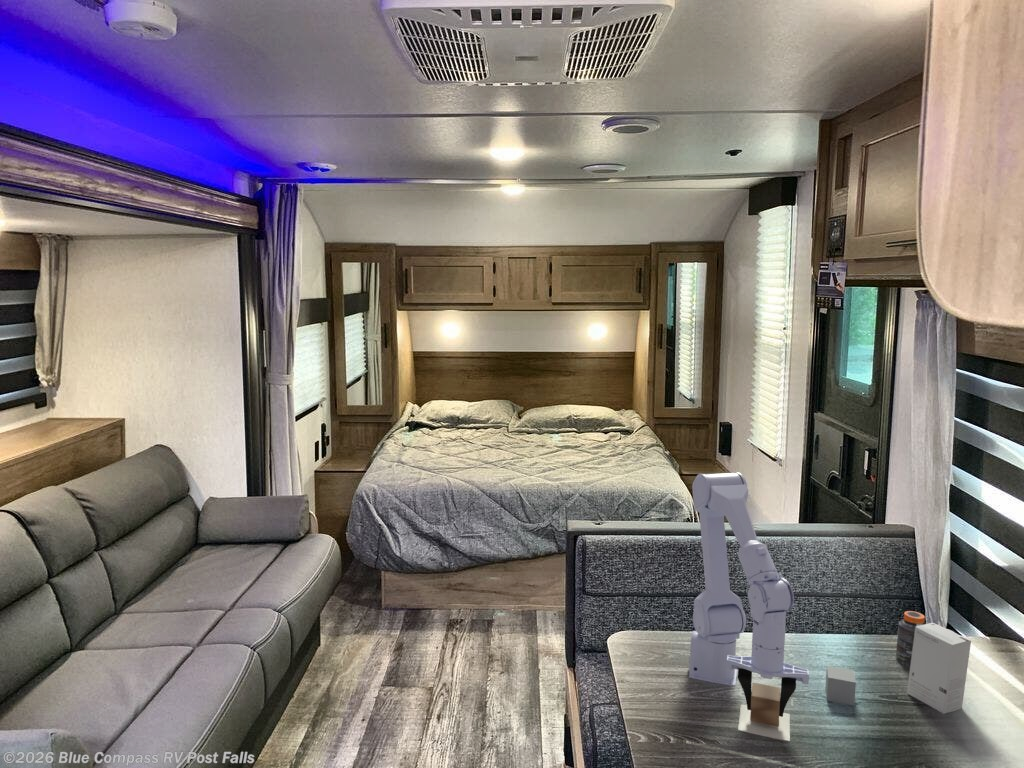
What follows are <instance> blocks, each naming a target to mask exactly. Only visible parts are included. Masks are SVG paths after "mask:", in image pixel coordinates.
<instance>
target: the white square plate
mask: <svg viewBox="0 0 1024 768" xmlns="http://www.w3.org/2000/svg"><path fill="white" fill-rule="evenodd" d="M739 709H740V711H739V720H738V727H737V731H740V732H744V733H749V734H752V735H753V734H754V735H759V736H762V737H767V738H771V739H776V740H781V741H785V742H789V743H790V742H791V738H790V737H791V727H790V725H791V719H790V718H791V716H790V714H791V713H787V712H784V713H783V717H781V716H779V727H777V726H773V725H768V724H763V723H758V722H754V721H750V715H751V710H747V704H740V708H739Z"/></svg>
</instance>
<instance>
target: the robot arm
mask: <svg viewBox="0 0 1024 768" xmlns="http://www.w3.org/2000/svg"><path fill="white" fill-rule="evenodd" d="M691 487H692V501H693V509H694V511H695V512H696V513H699V525H700V535H701V536H700V538H701V547H702V548H701V549H702V561H703V571H704V572H703V573H704V583H705V584H704V586H705V589H704V590H703V591H702V592H701V593H700V594H698V595H697V596H696V597H695V598H694V600H693V601H694V603H693V606H694V607H693V613H692V614H693V615H692V622H693V623H692V624H693V626H694V629H695V630H692V632H691V637H690V647H689V648H690V649H689V659H688V663H689V675H688V677H689V679H694V680H699V681H704V682H705V681H706V682H709V683H714V684H716V683H717V684H720V685H724V686H725V685H726V686H730V687H735V686H736V684H737V680H738V683H739V684H740V686H741V689H742V692H743V694H744V698H745V701H746V705H747V710H751V694H752V683H753V682H752V681H753V680H752V677H753V673H754V674H758V675H759V676H760V677H761V678H763V679H769V680H772V679H773V678H780V679H781V680H780V681H781V682H780V683H781V686H780V709H779V716H781V717H783V713H785V708H786V707H787V704H788V702H789V701H790V700H789V699H791V697H792V696H793V694H795V691H796V688H797V682H801V683H802V684H805V685H809V683H810V682H809V681H810V679H809V678H810V670H809V669H807V668H802V667H799V666H797V665H794V664H793V665H792V664H790V663H787V662H785V661H784V660H785V644H786V643H785V642H786V622H787V621H786V620H787V611H790V610H792V609H793V607H794V604H795V596H794V592H793V589H792V585H791V584H790V582H789V581H788V580H787V579H786V578H784V576H783V574H782V573H780V572H779V573H778V570H777V568H776V565H775V564H774V561H773V559H772V556H771V553H770V552H769V549H768V547H767V545H766V544H764V543H763V542H760V541H759V539H758V538H757V533H756V531H755V527H754V524H753V522H752V518H751V514H750V512H749V508H748V506H747V500H748V497H749V488H748V483H747V480H746V478H745V477H744V475H743V474H742V473H741V472H739V471H735V472H723V473H721V472H720V473H698V474H697V475H696V477H695V478H694V480H693V483H692V486H691ZM725 518H726V520H727V523H728V524H729V526H730V529H731V531H732V532H733V534H734V536H735V538H736V541H737V542H738V544H739V549H738V550H737V551H738V552H737V557H738V560H739V561H740V564H741V567H742V569H743V572H744V574H745V577H746V580H747V583H748V586H749V588H748V590H747V600H748V602H749V606H750V609H749V610H750V611H749V612H750V613H749V614H750V616H751V618H752V634H751V635H752V637H751V639H752V640H751V656H749V655H748V656H747V655H746V656H744V655H743V656H742V655H741V656H740V655H736V654H737V640H739V639H740V636H741V634H743V633H744V631H745V630H746V626H747V617H746V616H747V615H746V613H745V611H744V607H743V602H742V599H741V597H740V596H738V594H735V593H734V592H733V591H732V590H731V585H730V584H731V583H730V573H729V563H728V561H729V560H728V552H727V551H728V549H727V538H726V530H725V529H726V528H725V527H726V526H725Z"/></svg>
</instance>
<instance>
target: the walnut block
mask: <svg viewBox="0 0 1024 768" xmlns="http://www.w3.org/2000/svg"><path fill="white" fill-rule="evenodd" d="M751 692H752V694H751V715H750V721H754V722H758V723H763V724H768V725H773V726H777V727H779V709H780V696H781V687H780V686H774V685H773V686H772V685H769V684H763V683H758V682H752V683H751Z"/></svg>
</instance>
